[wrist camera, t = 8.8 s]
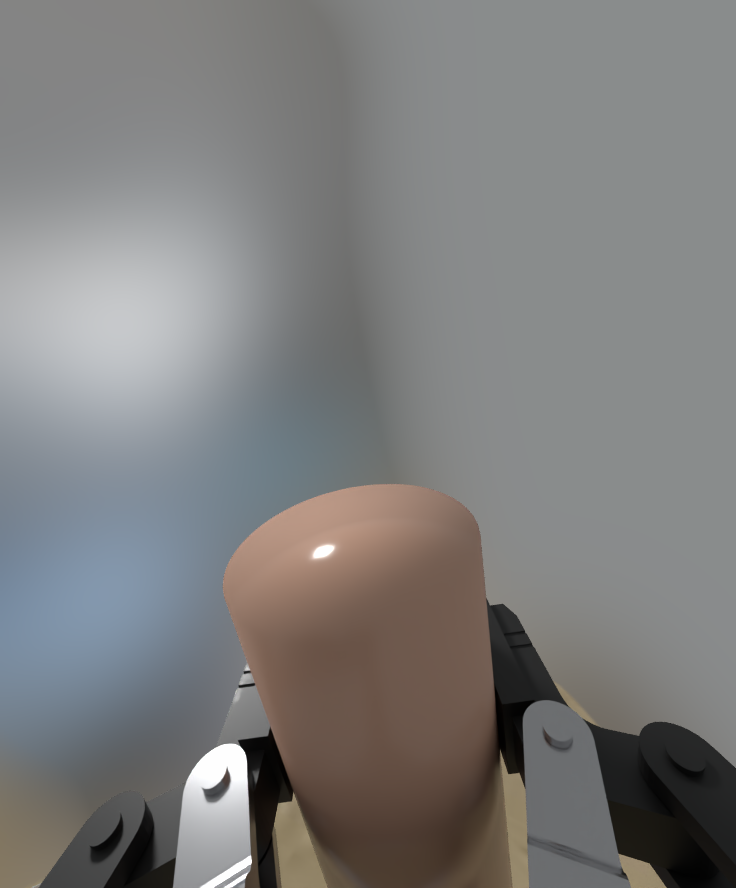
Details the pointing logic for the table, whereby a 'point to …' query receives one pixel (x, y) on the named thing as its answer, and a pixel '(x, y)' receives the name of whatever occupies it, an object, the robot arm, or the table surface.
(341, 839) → the peach rounded cylinder
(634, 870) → the table surface
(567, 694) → the table surface
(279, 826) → the table surface
